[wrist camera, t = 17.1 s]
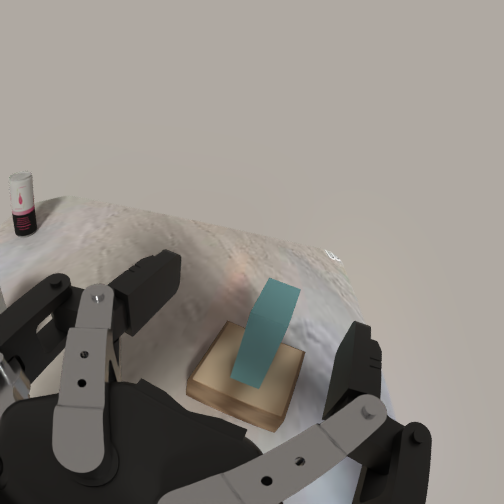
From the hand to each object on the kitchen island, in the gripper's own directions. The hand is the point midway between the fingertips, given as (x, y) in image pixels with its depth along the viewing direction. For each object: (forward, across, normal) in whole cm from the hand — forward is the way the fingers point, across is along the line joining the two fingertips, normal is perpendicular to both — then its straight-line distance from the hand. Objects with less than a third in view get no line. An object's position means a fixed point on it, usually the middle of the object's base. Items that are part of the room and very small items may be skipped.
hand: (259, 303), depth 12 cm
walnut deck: (+15, +1, +28) cm, 32 cm away
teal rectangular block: (+15, +1, +23) cm, 28 cm away
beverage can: (+20, +64, +26) cm, 72 cm away
